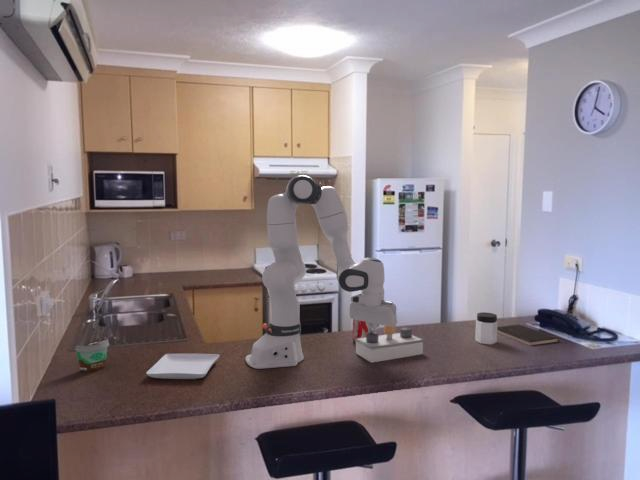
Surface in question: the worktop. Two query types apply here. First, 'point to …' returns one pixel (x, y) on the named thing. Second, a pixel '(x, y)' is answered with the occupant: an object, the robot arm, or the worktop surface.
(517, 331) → the hardcover book
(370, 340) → the knob near
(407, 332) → the knob far
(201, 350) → the worktop surface
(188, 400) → the worktop surface
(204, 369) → the salad plate
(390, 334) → the knob middle
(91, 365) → the food container
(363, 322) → the soda can
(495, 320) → the jar
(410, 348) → the control box
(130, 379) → the worktop surface
